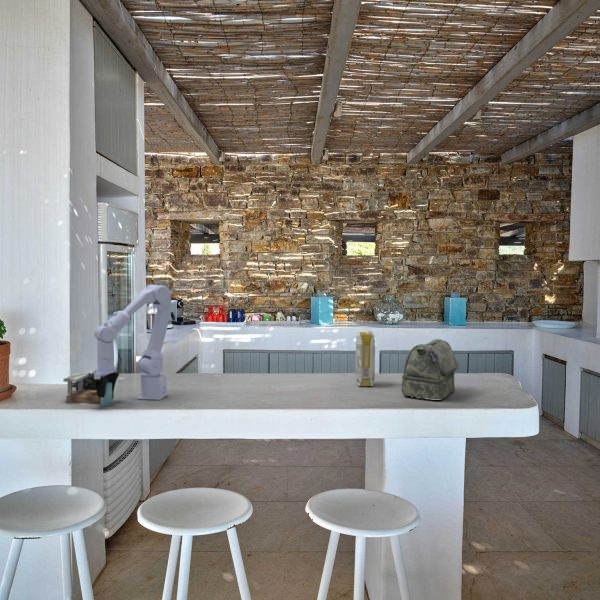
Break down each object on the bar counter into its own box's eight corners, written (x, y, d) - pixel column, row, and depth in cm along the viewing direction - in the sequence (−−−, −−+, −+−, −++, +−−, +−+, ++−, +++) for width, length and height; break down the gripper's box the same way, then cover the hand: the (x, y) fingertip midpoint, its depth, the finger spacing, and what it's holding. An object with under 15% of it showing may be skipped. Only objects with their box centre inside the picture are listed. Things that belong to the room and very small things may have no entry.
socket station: (115, 397, 216) (115, 374, 216) (103, 403, 206) (103, 380, 206) (76, 396, 218) (76, 373, 217) (63, 402, 208) (63, 378, 207)
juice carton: (375, 387, 237) (376, 332, 236) (356, 387, 237) (357, 331, 236) (372, 383, 247) (373, 329, 245) (354, 382, 247) (355, 329, 245)
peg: (113, 403, 207) (113, 382, 206) (109, 406, 203) (109, 384, 202) (103, 403, 207) (103, 382, 207) (98, 405, 203) (98, 384, 203)
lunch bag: (442, 404, 211) (443, 347, 209) (396, 397, 220) (397, 343, 219) (460, 390, 233) (461, 339, 232) (418, 385, 242) (419, 336, 241)
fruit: (69, 370, 222) (109, 368, 226) (72, 373, 230) (110, 370, 234) (69, 392, 220) (109, 389, 224) (72, 394, 228) (111, 391, 232)
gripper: (103, 354, 212) (104, 389, 212) (85, 361, 197) (86, 398, 198) (121, 355, 211) (122, 390, 212) (104, 361, 196) (105, 399, 197)
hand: (105, 394), depth 205 cm, fingers open, 7 cm apart
